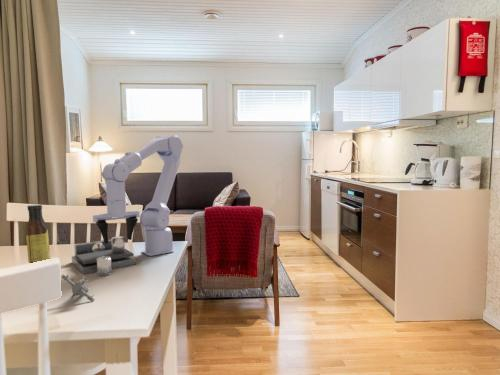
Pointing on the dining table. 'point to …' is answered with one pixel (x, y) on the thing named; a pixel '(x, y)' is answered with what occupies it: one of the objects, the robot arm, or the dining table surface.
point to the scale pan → (93, 256)
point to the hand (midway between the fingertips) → (117, 241)
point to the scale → (97, 247)
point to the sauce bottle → (37, 235)
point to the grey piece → (78, 287)
